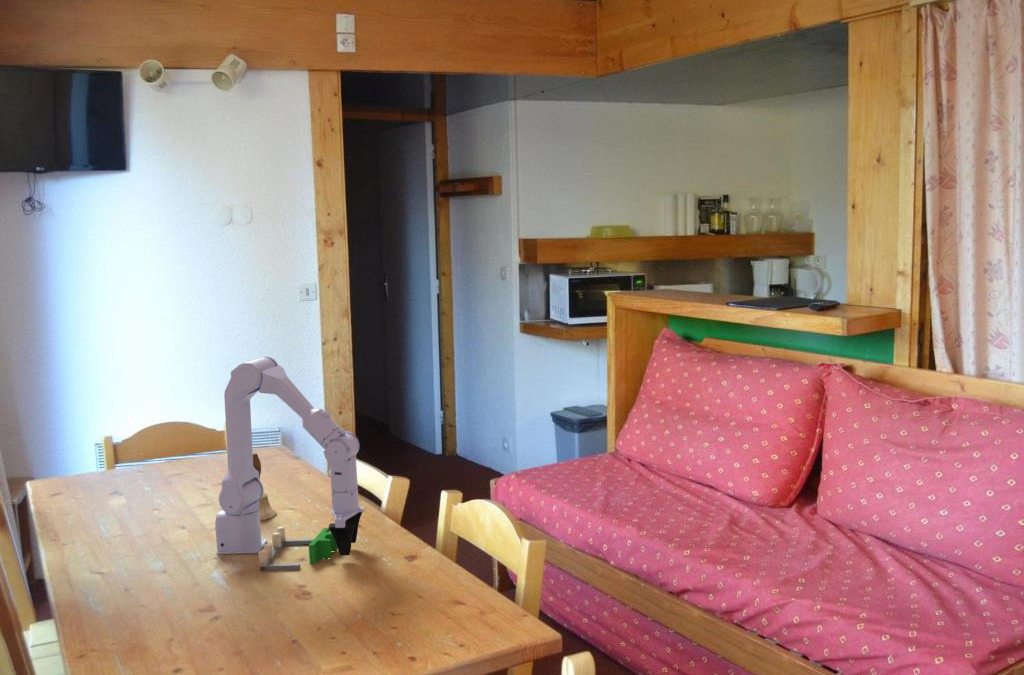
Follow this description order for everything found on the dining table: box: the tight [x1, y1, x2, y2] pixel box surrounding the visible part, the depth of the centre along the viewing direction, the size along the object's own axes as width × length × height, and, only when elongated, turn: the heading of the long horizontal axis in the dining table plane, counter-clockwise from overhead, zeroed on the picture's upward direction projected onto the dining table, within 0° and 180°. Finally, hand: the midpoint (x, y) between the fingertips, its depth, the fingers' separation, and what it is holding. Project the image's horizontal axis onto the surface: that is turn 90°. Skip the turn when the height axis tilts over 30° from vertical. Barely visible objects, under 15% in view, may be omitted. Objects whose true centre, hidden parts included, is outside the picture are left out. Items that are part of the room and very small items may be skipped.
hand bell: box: [253, 452, 278, 522], centre depth 241 cm, size 8×8×16 cm
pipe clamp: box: [308, 527, 338, 565], centre depth 213 cm, size 11×4×5 cm, turn 173°
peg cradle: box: [258, 525, 315, 572], centre depth 213 cm, size 8×17×4 cm, turn 179°
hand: (348, 548), depth 213 cm, fingers open, 7 cm apart
